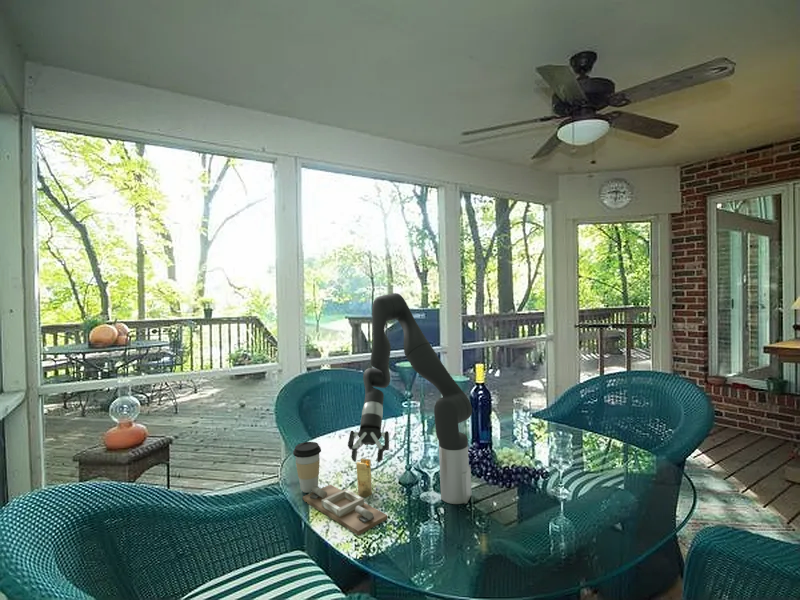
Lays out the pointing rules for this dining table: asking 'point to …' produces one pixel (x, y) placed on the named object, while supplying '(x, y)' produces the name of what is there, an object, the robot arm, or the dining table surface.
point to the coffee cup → (307, 464)
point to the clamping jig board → (345, 508)
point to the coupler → (364, 477)
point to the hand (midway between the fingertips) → (366, 461)
